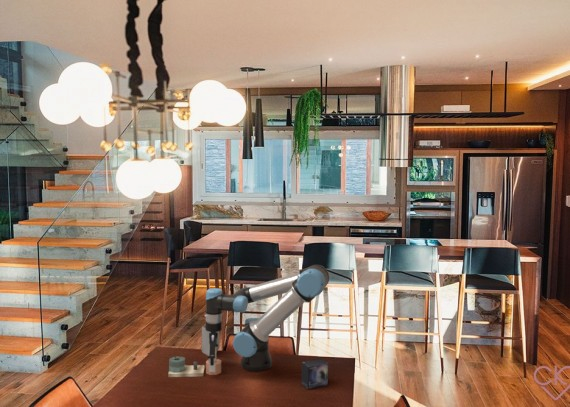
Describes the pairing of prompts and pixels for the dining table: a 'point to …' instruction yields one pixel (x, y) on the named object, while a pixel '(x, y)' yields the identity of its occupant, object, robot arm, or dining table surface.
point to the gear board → (189, 372)
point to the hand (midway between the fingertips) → (212, 365)
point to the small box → (314, 374)
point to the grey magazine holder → (206, 341)
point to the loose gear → (217, 367)
